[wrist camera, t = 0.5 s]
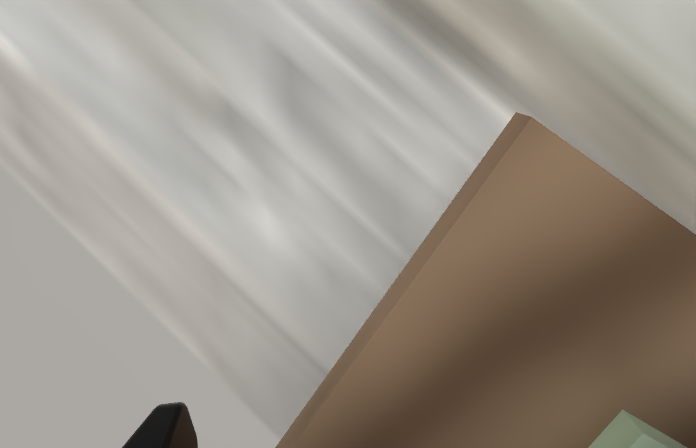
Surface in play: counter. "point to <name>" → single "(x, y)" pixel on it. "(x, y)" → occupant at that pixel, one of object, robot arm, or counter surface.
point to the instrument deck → (526, 319)
